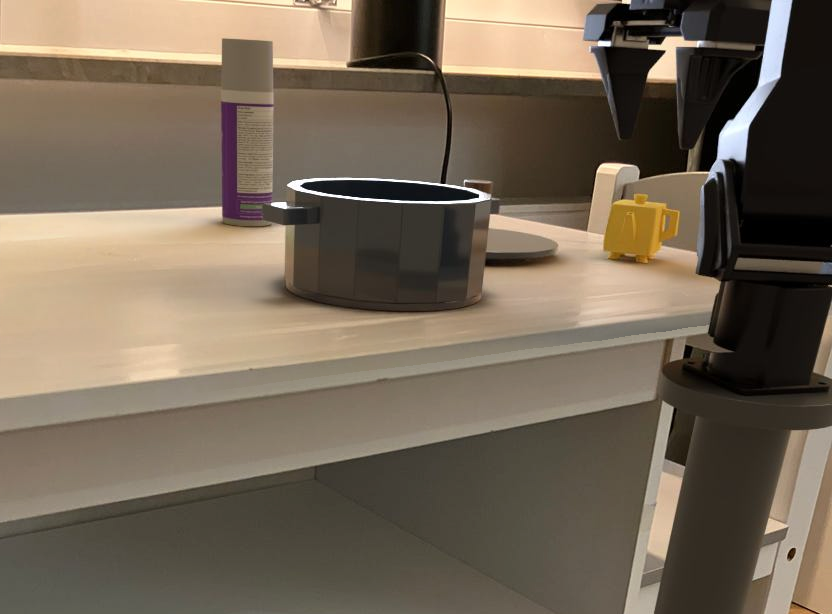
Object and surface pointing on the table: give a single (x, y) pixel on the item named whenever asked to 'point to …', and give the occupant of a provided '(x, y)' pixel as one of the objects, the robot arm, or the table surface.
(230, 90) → the container
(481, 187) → the lid
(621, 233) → the teapot
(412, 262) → the pot
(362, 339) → the table surface
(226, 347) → the table surface
